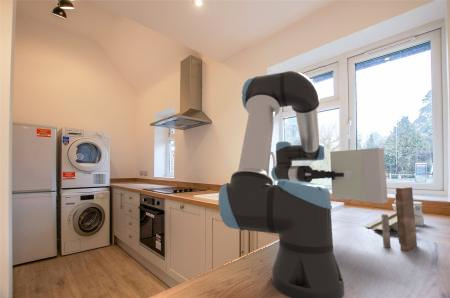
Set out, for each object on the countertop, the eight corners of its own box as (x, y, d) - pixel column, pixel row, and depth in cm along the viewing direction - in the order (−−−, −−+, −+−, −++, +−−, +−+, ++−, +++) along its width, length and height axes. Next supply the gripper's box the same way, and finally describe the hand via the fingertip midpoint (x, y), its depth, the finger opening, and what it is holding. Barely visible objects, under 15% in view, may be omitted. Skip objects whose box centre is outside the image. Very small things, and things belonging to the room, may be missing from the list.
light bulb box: (424, 224, 108) (422, 201, 109) (423, 226, 103) (421, 203, 104) (396, 220, 115) (395, 199, 116) (395, 222, 110) (393, 201, 111)
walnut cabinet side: (382, 246, 75) (378, 187, 77) (394, 240, 81) (390, 186, 83) (405, 252, 70) (400, 188, 72) (417, 245, 76) (412, 187, 78)
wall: (399, 247, 86) (427, 222, 86) (381, 229, 88) (407, 204, 89) (378, 241, 101) (401, 220, 102) (363, 226, 104) (385, 205, 105)
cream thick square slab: (331, 198, 84) (329, 151, 86) (337, 197, 87) (335, 152, 89) (381, 203, 71) (378, 148, 73) (387, 202, 74) (383, 148, 75)
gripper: (312, 181, 103) (367, 184, 84) (289, 183, 94) (345, 186, 75) (311, 165, 104) (366, 164, 85) (289, 165, 95) (344, 164, 75)
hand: (356, 174), depth 80 cm, fingers closed on cream thick square slab, 3 cm apart
